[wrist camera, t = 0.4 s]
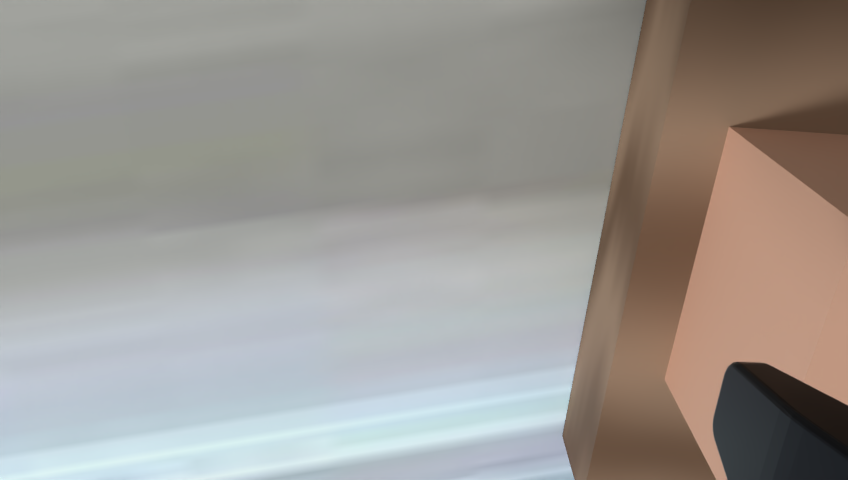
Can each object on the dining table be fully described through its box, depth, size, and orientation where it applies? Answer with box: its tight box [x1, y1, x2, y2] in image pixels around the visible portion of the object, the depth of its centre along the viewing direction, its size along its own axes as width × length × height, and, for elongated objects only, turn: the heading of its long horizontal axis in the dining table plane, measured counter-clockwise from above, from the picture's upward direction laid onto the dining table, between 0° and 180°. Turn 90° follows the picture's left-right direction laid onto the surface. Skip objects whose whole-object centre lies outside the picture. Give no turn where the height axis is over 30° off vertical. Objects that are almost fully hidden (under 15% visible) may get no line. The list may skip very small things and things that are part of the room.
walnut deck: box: [563, 0, 848, 480], centre depth 20 cm, size 16×10×3 cm, turn 176°
